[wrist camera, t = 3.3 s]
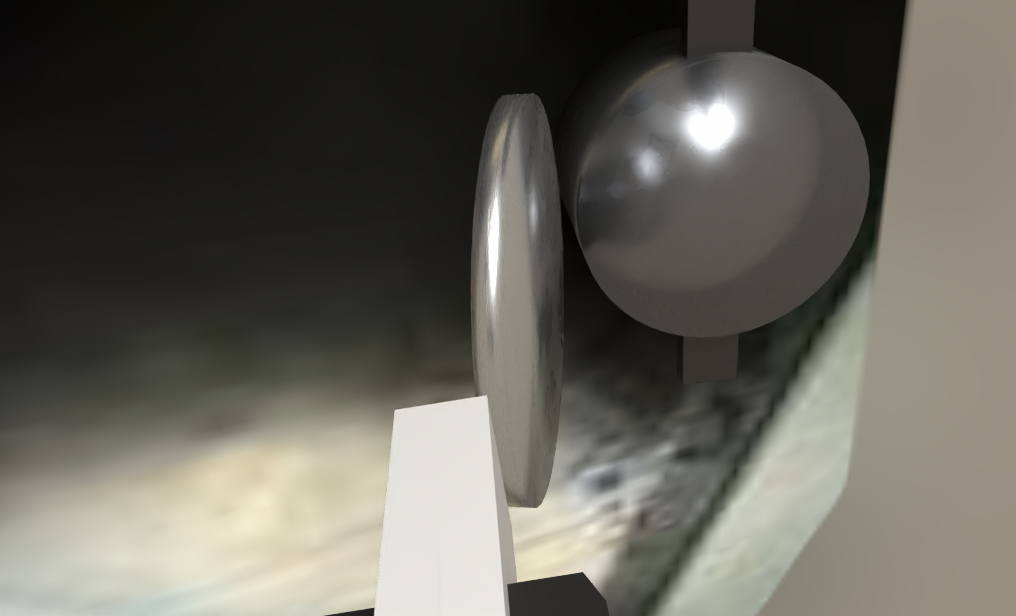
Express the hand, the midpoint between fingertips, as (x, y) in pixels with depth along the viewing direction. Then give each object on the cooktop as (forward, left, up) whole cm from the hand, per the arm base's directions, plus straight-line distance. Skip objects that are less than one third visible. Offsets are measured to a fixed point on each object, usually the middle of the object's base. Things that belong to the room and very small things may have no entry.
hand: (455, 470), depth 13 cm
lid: (+3, -6, -17) cm, 19 cm away
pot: (+12, -6, -35) cm, 37 cm away
